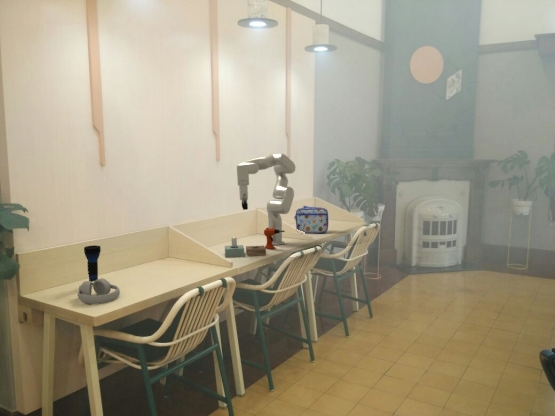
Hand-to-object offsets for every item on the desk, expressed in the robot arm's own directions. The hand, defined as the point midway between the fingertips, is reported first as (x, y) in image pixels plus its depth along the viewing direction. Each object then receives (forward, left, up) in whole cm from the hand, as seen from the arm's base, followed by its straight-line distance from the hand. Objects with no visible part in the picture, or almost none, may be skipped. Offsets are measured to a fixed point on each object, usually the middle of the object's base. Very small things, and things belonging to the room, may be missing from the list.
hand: (244, 208), depth 330 cm
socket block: (+8, +6, -29) cm, 31 cm away
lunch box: (-61, +57, -29) cm, 89 cm away
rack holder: (+8, -8, -29) cm, 31 cm away
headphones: (+91, -76, -30) cm, 122 cm away
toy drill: (-3, +20, -29) cm, 36 cm away
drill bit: (+8, -8, -28) cm, 30 cm away
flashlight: (+66, -83, -29) cm, 110 cm away
